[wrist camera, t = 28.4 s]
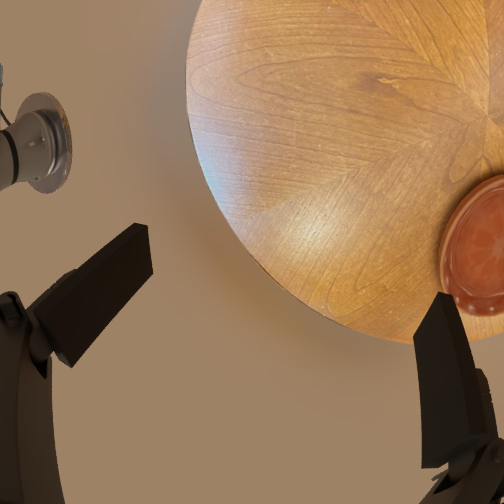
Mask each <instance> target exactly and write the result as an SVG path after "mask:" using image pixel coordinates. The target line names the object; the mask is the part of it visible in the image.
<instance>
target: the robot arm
mask: <svg viewBox="0 0 504 504" xmlns="http://www.w3.org/2000/svg"><path fill="white" fill-rule="evenodd" d="M2 74H3V67H2V65H1V64H0V106H1V88H2V86H3V83H2ZM0 114H1V116H2V117H3V119H4V120H5V122H6V123H7V124H8V127H7V128H6V129H4V130H1V131H0V191H2V190H3V189H5V188H7V187H9V186H10V185H12V184H14V183H17V182H26V181H31V180H32V181H37V180H40V179H42V178H44V177H46V176H48V175H49V174H50V172H51V171H52V169H53V166H54V162H55V155H56V146H55V138H54V133H53V130H52V127H51V125H50V123H49V121H48V119H47V118H46V116H45V115H44V114H43V113H41V112H39V111H32V112H29V113H26V114H24V115H23V116H22V117H20V118H19V119H18V120H17V121H15V122H14V123H12V124H10V122H9V121H8V120H7V118H6V117H5V115H4V113H3V112H2V110H1V108H0ZM152 274H153V268H152V261H151V253H150V245H149V235H148V226H147V225H143V224H138V223H133V224H132V225H131V226H129V227H128V228H127V229H126V230H124V231H123V232H122V233H121V234H119V235H118V236H117V237H115V238H114V239H113V240H112V241H110V242H109V243H108V244H107V245H105V246H104V247H103V248H102V249H100V250H99V251H98V252H97V253H96V254H94V255H93V256H92V257H91V258H90V259H88V260H87V261H86V262H85V263H84V264H82V265H81V266H80V267H79V268H78V269H74V270H72V271H70V272H68V273H66V274H64V275H63V276H62V277H61V278H60V279H58V280H57V281H56V283H54V284H53V285H52V286H51V287H50V289H47V290H46V291H45V292H44V293H43V294H42V295H41V296H40V297H39V298H37V299H36V300H35V301H34V302H33V303H32V304H31V305H30V306H29V307H28V308H27V309H26V310H25V308H24V306H23V304H22V302H21V300H20V298H19V296H18V294H17V293H16V292H13V291H8V292H5V293H3V294H1V295H0V504H65V501H64V497H63V492H62V487H61V482H60V477H59V471H58V464H57V457H56V450H55V440H54V428H53V412H52V358H51V356H50V355H51V353H52V352H53V351H54V352H55V354H56V356H57V357H58V359H59V360H60V361H61V362H63V363H64V364H66V365H67V366H69V367H70V368H72V367H73V366H74V365H75V364H76V362H77V361H78V360H79V359H80V357H81V356H82V355H83V354H84V353H85V351H86V350H87V349H88V348H89V347H90V345H91V344H92V343H93V342H94V340H95V339H96V338H97V337H98V336H99V334H100V333H101V332H102V331H103V330H104V329H105V327H106V326H107V325H108V324H109V323H110V322H111V320H112V319H113V318H114V317H115V316H116V315H117V314H118V312H119V311H120V310H121V309H122V308H123V307H124V306H125V304H126V303H127V302H128V301H129V300H130V299H131V297H132V296H133V295H134V294H135V293H136V292H137V291H138V290H139V289H140V288H141V286H142V285H143V284H144V283H145V282H146V281H147V280H148V279H149V278H150V277H151V275H152ZM413 340H414V347H415V353H416V361H417V371H418V380H419V390H420V405H421V424H422V425H421V427H422V467H421V468H422V469H423V468H439V467H441V466H442V465H444V464H446V463H447V462H448V469H447V470H445V471H443V472H441V473H440V474H438V475H436V476H435V477H433V478H432V481H434V480H436V479H438V478H439V479H438V481H437V482H436V483H435V485H434V486H433V487H432V488H431V490H430V491H429V492H428V493H427V495H426V496H425V497H424V498H423V499H422V501H421V502H420V503H419V504H500V501H501V498H502V497H504V440H503V439H502V438H499V437H498V432H497V425H496V419H495V414H494V408H493V403H491V401H492V398H491V394H490V393H489V392H490V389H489V385H488V380H487V378H486V377H485V375H484V373H483V371H482V370H481V369H478V368H475V364H474V360H473V356H472V353H471V349H470V346H469V342H468V339H467V336H466V333H465V330H464V326H463V323H462V320H461V317H460V315H459V312H458V309H457V306H456V303H455V301H454V298H453V295H451V294H447V293H442V292H438V293H437V295H436V297H435V299H434V301H433V303H432V305H431V306H430V308H429V310H428V312H427V314H426V315H425V317H424V319H423V321H422V322H421V324H420V326H419V327H418V329H417V331H416V332H415V334H414V336H413ZM502 504H504V503H502Z"/></svg>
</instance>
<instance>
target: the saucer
mask: <svg viewBox="0 0 504 504" xmlns="http://www.w3.org/2000/svg"><path fill="white" fill-rule="evenodd" d="M438 271H439V277H440V280H441V284H442V287H443V290H444V292H445V293H447V294H451V295H453V298H454V301H455V303H456V306H457V309H458V310H460V311H461V312H463V313H465V314H468V315H471V316H476V317H491V316H496V315H500V314H503V313H504V174H502V175H498V176H495V177H492V178H490V179H488V180H486V181H484V182H482V183H481V184H479V185H478V186H477V187H475V188H474V189H473V190H472V191H471V192H470V193H469V194H467V196H466V197H465V198H464V199H463V200H462V201H461V202H460V204H459V205H458V206H457V208H456V209H455V211H454V212H453V214H452V216H451V217H450V219H449V221H448V223H447V225H446V228H445V230H444V233H443V236H442V239H441V243H440V247H439V254H438Z"/></svg>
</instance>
